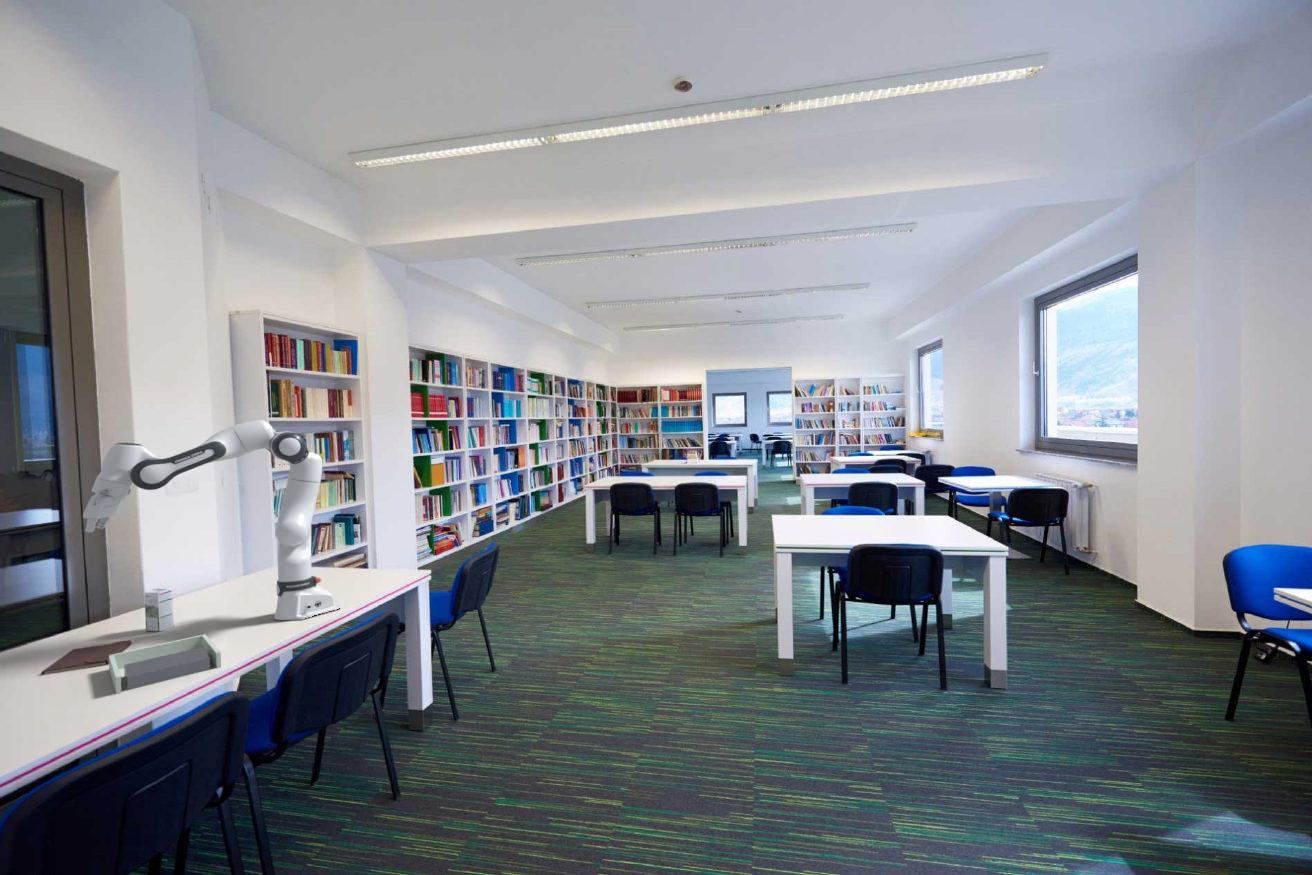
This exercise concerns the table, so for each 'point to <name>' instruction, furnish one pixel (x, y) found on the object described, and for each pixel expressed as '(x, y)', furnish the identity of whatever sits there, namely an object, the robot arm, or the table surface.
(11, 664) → the table surface
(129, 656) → the sage box
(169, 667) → the cover plate
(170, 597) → the syrup box
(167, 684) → the table surface
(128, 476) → the robot arm
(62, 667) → the notebook
